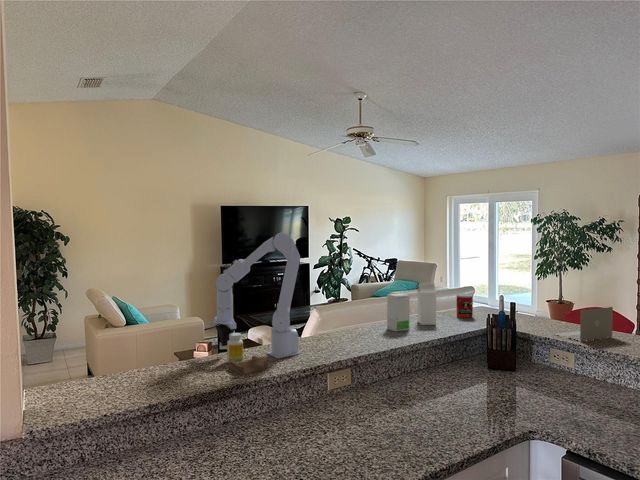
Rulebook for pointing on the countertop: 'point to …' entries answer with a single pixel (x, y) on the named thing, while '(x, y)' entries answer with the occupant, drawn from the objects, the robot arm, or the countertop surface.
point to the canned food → (464, 305)
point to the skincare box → (398, 312)
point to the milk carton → (427, 304)
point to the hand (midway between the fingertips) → (225, 345)
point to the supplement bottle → (235, 348)
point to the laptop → (594, 324)
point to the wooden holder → (249, 365)
